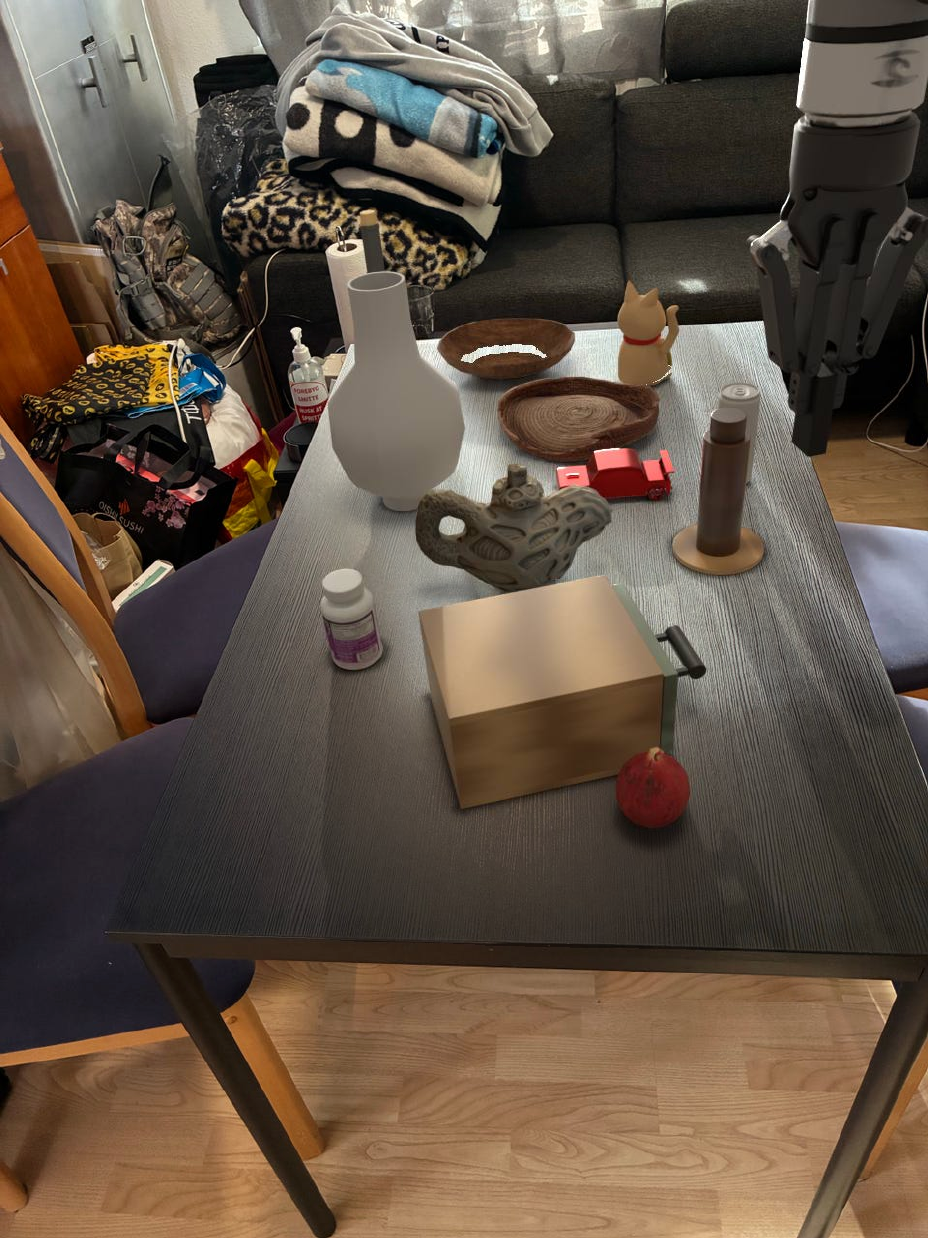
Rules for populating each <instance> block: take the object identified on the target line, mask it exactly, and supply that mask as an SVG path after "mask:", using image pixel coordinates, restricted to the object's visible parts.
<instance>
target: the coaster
mask: <svg viewBox="0 0 928 1238" xmlns="http://www.w3.org/2000/svg"><path fill="white" fill-rule="evenodd" d="M696 533H697V523H696V524H695V523H694V524H693V525H690V526H687V527H685V528H683V529H682V530H680V531H679V532H677V534H676V535H675V537H674V538H673V541H672V549H671V550H672V553H673V556H674V558H675V559H676V560H677V561H678V562H679V563H680V564H682V566H684V567H686V568H687V569H690V570H692V571H695V572H698V573H701V574H705V575H706V574H707V575H714V576H729V575H730V576H731V575H736V574H740V573H744V572H747V571H749V570H751V569H753V568H755V567H756V566H758V564H759V563H760V562H761V561H762V559H763V557H764V554H765V553H764V552H765V545H764V542H763V540H762V539H761V537H760V536H759V535H757V533H755V532H754V531H752V530H751V529H749V528H746V527H745V526H742V528H741V537H740V546H739V549H738V551H737V552H736V553H734V554H732V555H729V556H725V557H713V556H709V555H706V554H703V553H702V552H700V551H699V550H698V549H697V547H696Z"/></svg>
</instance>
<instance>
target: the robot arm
mask: <svg viewBox="0 0 928 1238" xmlns="http://www.w3.org/2000/svg"><path fill="white" fill-rule="evenodd" d="M806 16H807V17H806V25H805V35H804V41H803V48H802V57H801V65H800V66H801V67H800V73H799V81H798V89H797V98H796V107H797V109H799V111H801V113H803V114H804V115H803V116H801V117H800V118H799V119H798V121H796V123H795V124H794V128H793V136H792V145H791V154H790V163H789V172H788V173H789V193H788V195H787V198H786V200H785V202H784V204H783V205H782V207H781V210H780V214H779V222H777V223H776V224H775V225H774V226H772V227H771V228H770V229H769V230H768V231H766V232H765V233H764V234H763V235H761V236H760V235H757V234H752V235H750V236H749V237H748V238H747V240H746V241H745V245H744V248H745V251H746V253H747V254H748V256H749V258H750V260H751V262H752V263H753V265H754V267H755V269H756V274H757V282H758V289H759V297H760V305H761V312H762V320H763V328H764V336H765V343H766V351H767V357H768V359H769V360H770V362H772V364H774V365H776V366H777V367H778V368H780V369H781V370H782V371H783V372H784V373H787V374H790V378H789V388H788V396H787V406H788V409H789V410H791V411H792V412H793V413H794V420H793V426H792V433H791V442H790V443H792V444H793V445H794V446H795V447H796V448H797V449H799V450H800V451H801V453H803V454H804V455H805V456H806V457H807V458H810V457H815V456H816V457H817V456H821V455H826V454H827V447H828V443H829V438H830V437H829V436H830V429H831V423H832V419H833V418H832V417H833V411H834V410H835V409H840V408H841V406H842V404H843V402H844V397H845V390H846V386H847V380H848V376H851V375H854V374H856V372H857V371H858V370H859V368H860V366H859V364H857V363H856V362H858V361H860V360H862V359H865V360H869V359H872V358H874V357H875V355H877V353H878V352H879V351H878V350H879V348H880V345H881V343H882V340H883V338H884V335H885V333H886V330H887V328H888V325H889V323H890V320H891V318H892V316H893V313H894V311H895V308H896V305H897V303H898V300H899V298H900V295H901V294H902V291H903V288H904V286H905V283H906V282H907V278H908V276H909V273H910V271H911V268H912V266H913V263H914V260H915V258H916V256H917V254H918V253H919V252H920V250H921V249H922V247H923V246H924V245H925V243H927V241H928V217H927V216H926V215H923V214H920V213H918V212H916V211H914V210H913V209H911V208H910V207H908V202H909V198H908V193H907V191H906V180H907V178H909V176H910V174H911V173H912V169H913V164H914V160H915V154H916V148H917V143H918V138H919V134H920V133H919V132H920V127H921V120H920V119H919V117H918V115H917V113H915V112H913V110H915V109H917V108H918V107H920V106H921V105H922V104H923V103H924V101H925V96H926V91H927V85H928V0H808V5H807V15H806ZM789 242H791V244H792V245H793V247H794V249H795V250H796V252H797V254H798V262H797V271H798V273H799V282H798V290H797V298H796V304H795V305H796V306H795V314H794V304H793V303H794V302H793V295H792V285H791V277H790V272H789V269H788V266H787V263H786V261H788V260H789V259H790V249H789ZM880 245H881V246H880ZM879 247H880V248H879ZM878 248H879V250H878ZM877 252H878V253H877ZM823 360H824V361H823Z"/></svg>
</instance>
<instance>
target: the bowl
mask: <svg viewBox="0 0 928 1238" xmlns="http://www.w3.org/2000/svg"><path fill="white" fill-rule="evenodd" d="M575 342H576V333H575V332H574V331H573V330H572V328H570V327H569V326H568V324H565V323H561V322H557V321H554V320H549V319H542V318H518V317H517V318H515V317H514V318H494V319H488V320H480V321H473V322H469V323H466V324H462V325H459V326H457V327H455V328H454V329H453V328H452V329H451V330H450V331H448V332H446V333H445V334H444V335H443V336H441V338H440V339H439V340H438V343H437V346H436V350H437V351H438V353H439V355H440V356H441V357H442V358H443V359H444V361H445V362H446V363H447V364H448V365H449V366H451V367H452V368H454V369H455V370H458V371H459V372H460V373H464V374H467V375H472V376H475V377H478V378H485V379H493V380H511V379H521V378H524V377H528V376H532V375H535V374H538V373H542V372H545V371H547V370H549V369H551V368H553V367H554V366H555V365H557V364H558V363H560V362H561V361H562V360H563V359H564V358H565V357H566V356H567V355H568V354H569V353H570V351H571V350H572V349H573V346H574V345H575ZM512 344H522V345H533V346H535V347H536V350H537V348H538V350H539V351H541V352H542V353H543V354H546V356H547V357H545V358H542V357H541V356H539V355H535V354H532V353H519V352H508V353H500V354H489V355H486V356H482V357H480V358H478V359H476V360H475V361H474V362H473V363H469V362H464V361H461V359H462V357H463V355H465V354H470V353H472V352H474V351H476V350H477V349H478V348H483V347H487V346H488V347H492V346H494V345H499V346H503V345H505V346H506V345H512Z"/></svg>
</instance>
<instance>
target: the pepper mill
mask: <svg viewBox="0 0 928 1238" xmlns="http://www.w3.org/2000/svg"><path fill="white" fill-rule="evenodd" d="M746 423H747V414H746V412H744V411H743V410H741V409H737V408H720V409H717V408H716V409H715V410H713V411H712V412H711V413H710V424H709V429H707V430H706V431H705V432H704V433H703V436H702V451H701V462H700V463H701V465H700V479H699V491H698V505H697V519H696V520H697V521H696V524H697V533H696V547H697V549H698V550H699V551H700V552H702V553H703V554H706V555H709V556H713V557H725V556H729V555H732V554H734V553H736V552H737V551H738V549H739V546H740V537H741V528H742V527H743V519H744V517H743V516H744V508H745V498H746V490H747V489H746V488H747V484H746V481H747V471H748V462H749V452H750V443H751V435H750V433H749V432H748V431H746Z"/></svg>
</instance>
